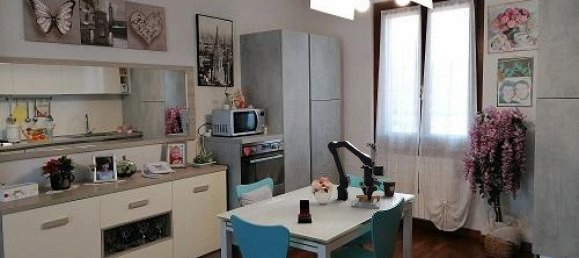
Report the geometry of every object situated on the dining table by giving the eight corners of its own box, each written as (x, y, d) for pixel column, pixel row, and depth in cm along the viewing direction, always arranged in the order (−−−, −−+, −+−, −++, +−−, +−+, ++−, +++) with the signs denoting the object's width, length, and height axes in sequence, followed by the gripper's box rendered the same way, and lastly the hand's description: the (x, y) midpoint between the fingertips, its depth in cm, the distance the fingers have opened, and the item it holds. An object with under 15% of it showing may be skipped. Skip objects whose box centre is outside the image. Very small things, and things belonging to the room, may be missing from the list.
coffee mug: (394, 194, 314) (394, 179, 313) (396, 196, 305) (396, 182, 305) (377, 193, 315) (377, 179, 314) (379, 196, 306) (379, 182, 306)
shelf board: (359, 203, 289) (360, 197, 289) (356, 201, 295) (356, 195, 294) (379, 201, 293) (379, 195, 293) (375, 199, 298) (375, 193, 298)
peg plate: (351, 206, 279) (351, 200, 278) (353, 203, 288) (353, 197, 288) (379, 208, 274) (379, 202, 274) (380, 204, 284) (380, 198, 284)
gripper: (385, 177, 285) (385, 201, 286) (374, 172, 303) (374, 195, 304) (368, 178, 283) (368, 202, 284) (358, 173, 301) (358, 196, 302)
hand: (368, 199), depth 294 cm, fingers closed on shelf board, 6 cm apart
